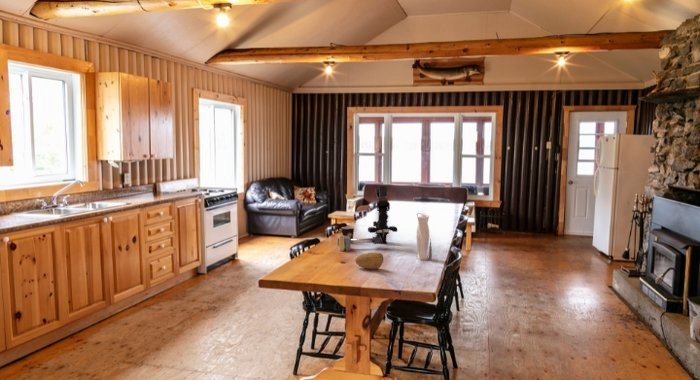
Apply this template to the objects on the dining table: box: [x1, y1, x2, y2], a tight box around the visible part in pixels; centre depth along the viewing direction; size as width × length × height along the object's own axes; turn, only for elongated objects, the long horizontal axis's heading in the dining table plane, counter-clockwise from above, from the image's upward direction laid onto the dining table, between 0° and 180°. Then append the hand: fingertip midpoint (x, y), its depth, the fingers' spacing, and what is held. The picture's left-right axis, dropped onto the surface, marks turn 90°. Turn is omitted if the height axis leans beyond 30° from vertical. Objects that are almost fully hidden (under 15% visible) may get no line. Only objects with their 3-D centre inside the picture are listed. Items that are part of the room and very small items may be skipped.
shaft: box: [351, 236, 381, 245], centre depth 304 cm, size 22×4×4 cm, turn 103°
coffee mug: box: [336, 226, 355, 239], centre depth 325 cm, size 12×9×10 cm
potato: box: [354, 251, 384, 271], centre depth 254 cm, size 9×16×9 cm, turn 70°
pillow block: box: [344, 236, 352, 252], centre depth 302 cm, size 3×9×8 cm, turn 13°
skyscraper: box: [416, 212, 433, 262], centre depth 276 cm, size 8×8×28 cm
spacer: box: [336, 233, 345, 252], centre depth 301 cm, size 3×8×10 cm, turn 13°
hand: (382, 242), depth 308 cm, fingers closed
